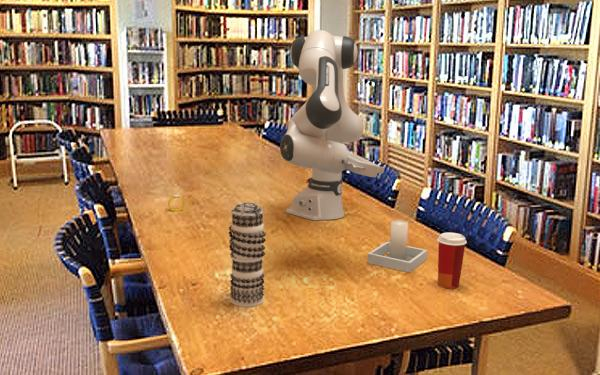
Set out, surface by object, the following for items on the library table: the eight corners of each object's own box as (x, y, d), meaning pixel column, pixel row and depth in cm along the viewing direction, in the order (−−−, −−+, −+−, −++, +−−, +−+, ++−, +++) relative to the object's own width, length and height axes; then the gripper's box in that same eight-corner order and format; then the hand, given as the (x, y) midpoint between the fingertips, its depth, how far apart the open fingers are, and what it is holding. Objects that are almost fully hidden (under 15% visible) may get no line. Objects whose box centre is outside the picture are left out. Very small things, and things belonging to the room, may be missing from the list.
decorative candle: (221, 299, 158) (220, 204, 152) (249, 289, 165) (249, 198, 159) (244, 310, 152) (244, 212, 146) (272, 300, 158) (273, 205, 152)
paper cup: (458, 279, 175) (462, 232, 172) (466, 290, 168) (470, 240, 164) (430, 279, 175) (434, 231, 172) (437, 290, 167) (441, 240, 164)
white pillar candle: (387, 261, 187) (389, 223, 184) (391, 256, 192) (393, 219, 189) (403, 264, 185) (406, 225, 182) (407, 258, 190) (409, 221, 187)
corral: (367, 263, 186) (367, 253, 186) (386, 250, 198) (386, 241, 197) (409, 272, 179) (410, 262, 179) (426, 259, 191) (427, 250, 190)
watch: (169, 212, 235) (168, 196, 234) (167, 210, 237) (167, 195, 236) (185, 210, 237) (184, 195, 236) (183, 209, 240) (183, 194, 238)
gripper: (355, 155, 167) (396, 164, 173) (321, 139, 184) (360, 147, 191) (349, 178, 168) (390, 186, 174) (315, 159, 185) (354, 167, 192)
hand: (374, 166), depth 183 cm, fingers open, 8 cm apart
